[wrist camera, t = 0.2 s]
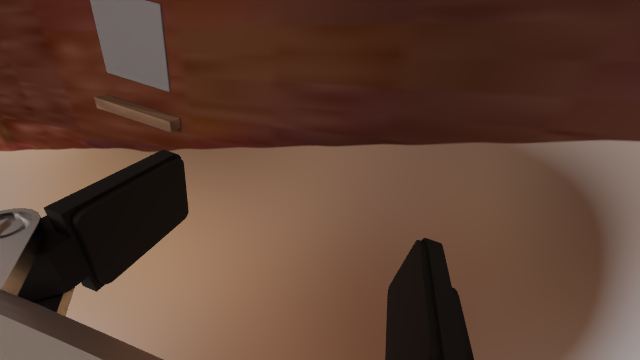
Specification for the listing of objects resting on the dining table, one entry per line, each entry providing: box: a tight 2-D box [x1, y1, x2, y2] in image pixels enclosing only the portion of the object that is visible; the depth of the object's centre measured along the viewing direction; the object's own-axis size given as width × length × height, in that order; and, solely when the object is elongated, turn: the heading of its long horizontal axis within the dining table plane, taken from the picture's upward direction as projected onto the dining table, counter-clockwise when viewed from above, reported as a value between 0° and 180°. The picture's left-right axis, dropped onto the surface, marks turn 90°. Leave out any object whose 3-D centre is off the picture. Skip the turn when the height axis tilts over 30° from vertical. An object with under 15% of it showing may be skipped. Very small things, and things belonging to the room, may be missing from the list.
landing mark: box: [90, 0, 170, 92], centre depth 42 cm, size 13×13×1 cm
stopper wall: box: [94, 95, 181, 132], centre depth 47 cm, size 2×16×2 cm, turn 78°
